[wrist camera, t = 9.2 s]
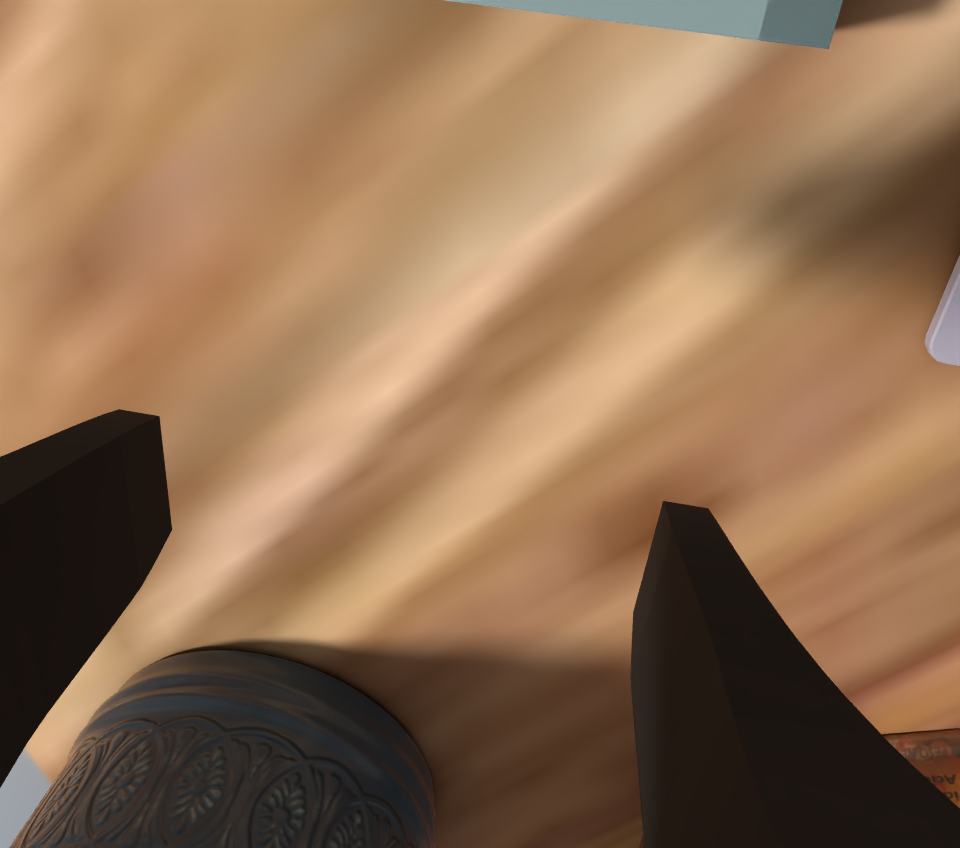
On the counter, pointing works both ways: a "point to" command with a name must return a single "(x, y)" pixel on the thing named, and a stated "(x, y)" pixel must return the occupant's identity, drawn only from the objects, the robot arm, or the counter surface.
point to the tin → (930, 758)
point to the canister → (237, 764)
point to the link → (704, 16)
